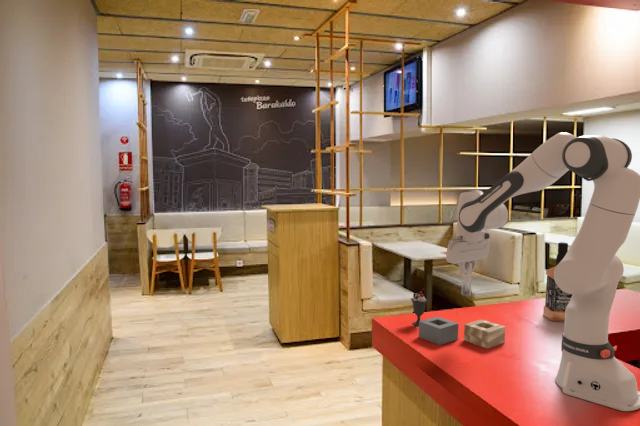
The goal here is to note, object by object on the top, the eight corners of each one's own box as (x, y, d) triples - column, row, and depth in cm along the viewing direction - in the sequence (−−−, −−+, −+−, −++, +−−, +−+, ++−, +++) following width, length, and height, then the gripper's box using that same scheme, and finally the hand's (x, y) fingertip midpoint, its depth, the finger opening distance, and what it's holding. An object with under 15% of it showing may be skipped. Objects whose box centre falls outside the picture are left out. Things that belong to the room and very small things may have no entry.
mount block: (504, 342, 173) (505, 326, 172) (487, 348, 167) (488, 332, 166) (480, 334, 181) (481, 319, 180) (464, 340, 175) (464, 324, 174)
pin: (472, 295, 174) (474, 262, 172) (466, 296, 172) (468, 263, 170) (465, 292, 176) (466, 260, 175) (459, 294, 174) (461, 261, 173)
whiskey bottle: (550, 321, 197) (554, 244, 193) (542, 314, 206) (546, 240, 203) (577, 322, 195) (581, 245, 192) (568, 315, 205) (572, 241, 202)
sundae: (427, 327, 189) (428, 290, 187) (410, 326, 190) (410, 289, 188) (427, 322, 195) (428, 286, 194) (410, 321, 196) (411, 285, 195)
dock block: (457, 339, 176) (458, 323, 175) (439, 345, 170) (440, 328, 169) (436, 331, 184) (436, 316, 183) (418, 337, 178) (419, 321, 177)
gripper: (457, 238, 163) (455, 278, 164) (493, 234, 175) (491, 271, 176) (442, 236, 168) (440, 274, 170) (479, 231, 180) (477, 267, 181)
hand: (467, 272), depth 173 cm, fingers closed on pin, 3 cm apart
